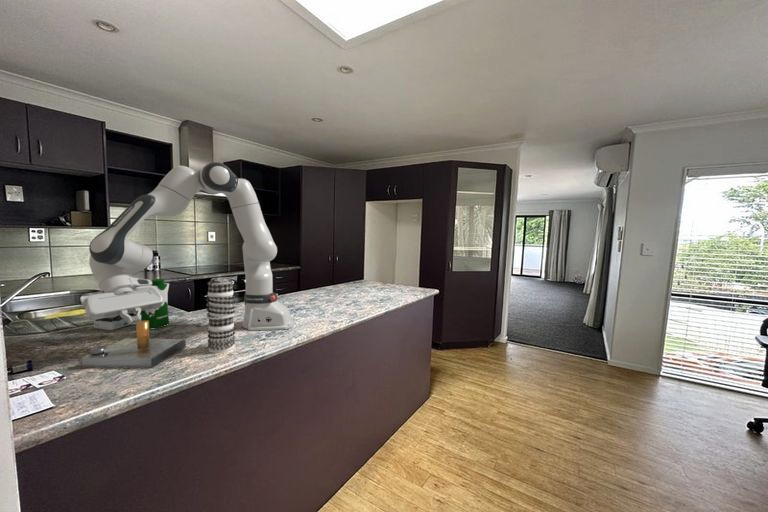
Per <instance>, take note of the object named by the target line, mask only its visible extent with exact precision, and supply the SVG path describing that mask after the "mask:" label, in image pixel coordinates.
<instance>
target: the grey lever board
mask: <svg viewBox="0 0 768 512" xmlns="http://www.w3.org/2000/svg"><path fill="white" fill-rule="evenodd" d="M149 339H150V347H149V348H146V349H129V350H121V351H112V352H105V353H103V354H99V355H90V353H89V354H87V355H84V356H82V360H81V361H82V368H129V369H131V368H137V369H138V368H141V369H143V368H145V369H146V368H149V369H150V368H154V367H156V366H157V365H159V364H160V363H162V362H164V361H165V360H166V359H169V358H170V357H172V356H173V355H175V354H177V353H178V352H180V351H181V350H183V349H185V348H187V347H186V346H187V340H186V339H185V338H180V339H179V338H149ZM130 344H137V338H124V339H121V340H119V341H117V342H115V343H113V344H110V345H107V346H106V347H112V346H121V345H130Z"/></svg>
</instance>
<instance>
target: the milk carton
mask: <svg viewBox="0 0 768 512" xmlns="http://www.w3.org/2000/svg"><path fill="white" fill-rule="evenodd" d="M151 281H152V285H151V286H154V287H156V288H157V289H158V291H159V292H160V294H161V295H162V297H163V303H162V305H161V306H160V307H158V308H153V309H148V310H143V311H141V321H144V320H148V321H149V328H155V329H154V330H157V329H156V328H158V327H160V328H162V327H161V326H163V327H165V326H164V325H166V326H168V325H167V324H169V325H170V319H169V318H170V317H169V303H168V301H169V300H168V293H169V287H170V283H167V282H166V283H165V279H163V278H162V279H161V278H157V279H152V280H151ZM158 329H159V328H158Z"/></svg>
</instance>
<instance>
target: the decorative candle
mask: <svg viewBox="0 0 768 512" xmlns="http://www.w3.org/2000/svg"><path fill="white" fill-rule="evenodd" d="M233 283H234V281H233V280H232V279H231V278H229V277H225V276H222V277H219V276H218V277H214V278H211V279H210V281H209V282H207V287H208V289H207V290H208V291H207V295H206V297H205V301H206V302H207V303H206V305H205V306H206V308H205V309H206V311H207V314H206V317H207V318H208V330H207V338H208V339H207V343H208V344H207V347H208V348H207V351H208V352H210V353H214V354H218V353H225V352H228V351H231V350H234V348H235V347H236V345H235V344H236V340H235V339H236V336H235V334H236V331H235V330H236V327H234V326H235V322H234V316H235V313H236V311H235V310H234V309H235V308H236V306H235V305H234V304H235V303H236V301H235V299H236V296H234V290H233V287H234V285H233Z"/></svg>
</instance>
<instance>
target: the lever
mask: <svg viewBox="0 0 768 512" xmlns="http://www.w3.org/2000/svg"><path fill="white" fill-rule="evenodd" d="M135 326H136V327H135V330H136V339H137V344H130V345H121V346H112V347H107V346H106V345H104V346H103V345H99V346H94V347H92V348H90V350H89V352H90V353H89V354H90V355H99V354H103V353H105V352H112V351H121V350H129V349H146V348H149V347H150V339H151V338H150V329H149V321H148V320H144V321H138V322H136V324H135Z"/></svg>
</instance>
